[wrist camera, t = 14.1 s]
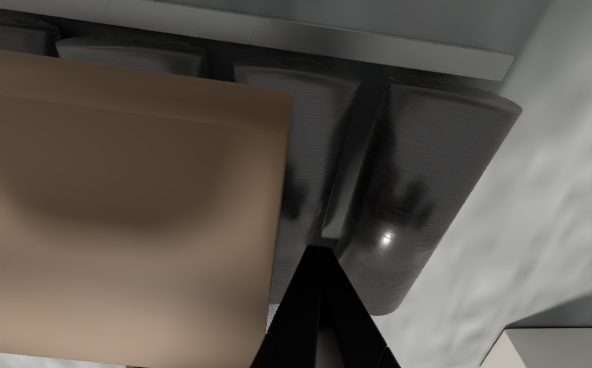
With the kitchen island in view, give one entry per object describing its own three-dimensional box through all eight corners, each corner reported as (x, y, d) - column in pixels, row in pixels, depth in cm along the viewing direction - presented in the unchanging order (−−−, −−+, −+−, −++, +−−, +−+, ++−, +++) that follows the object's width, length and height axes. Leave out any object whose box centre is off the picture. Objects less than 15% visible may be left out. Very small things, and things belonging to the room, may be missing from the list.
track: (385, 267, 17) (404, 332, 13) (-97, 209, 16) (-207, 264, 12) (494, 50, 10) (592, 74, 6) (-375, -80, 8) (-807, -133, 5)
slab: (268, 314, 12) (259, 379, 10) (-51, 279, 11) (-131, 339, 9) (294, 90, 6) (287, 133, 4) (-334, 2, 6) (-694, 1, 4)
